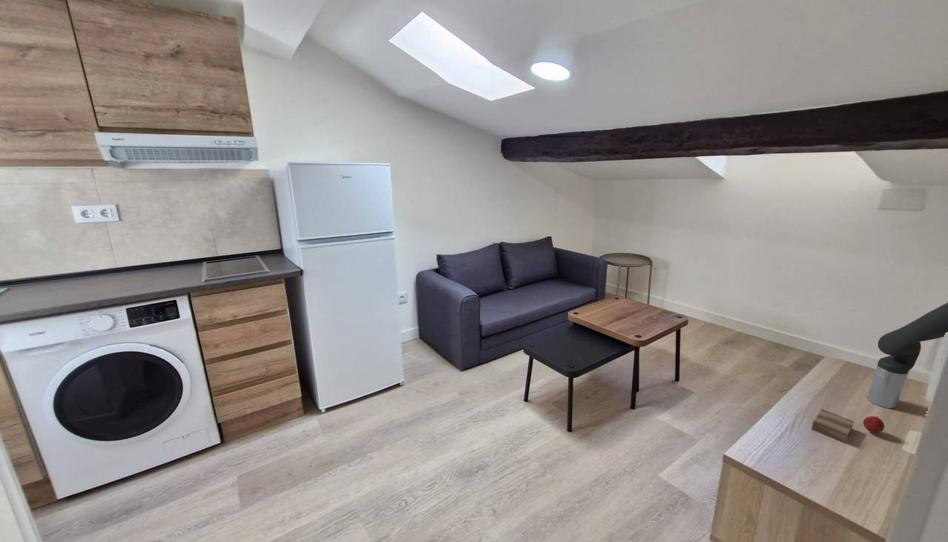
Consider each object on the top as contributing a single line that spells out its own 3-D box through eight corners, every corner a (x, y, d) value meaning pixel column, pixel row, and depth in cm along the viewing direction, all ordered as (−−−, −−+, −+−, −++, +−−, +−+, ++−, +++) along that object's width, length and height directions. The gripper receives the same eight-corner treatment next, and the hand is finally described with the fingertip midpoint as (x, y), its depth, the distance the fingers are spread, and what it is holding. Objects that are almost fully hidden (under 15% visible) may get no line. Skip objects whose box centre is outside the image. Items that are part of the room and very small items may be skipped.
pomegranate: (885, 438, 147) (891, 421, 145) (868, 436, 148) (874, 419, 146) (873, 427, 152) (879, 411, 150) (857, 426, 154) (862, 410, 151)
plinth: (819, 416, 160) (821, 409, 158) (851, 429, 152) (854, 421, 151) (811, 429, 153) (813, 421, 152) (844, 443, 145) (847, 434, 144)
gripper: (982, 386, 130) (921, 398, 142) (980, 402, 122) (916, 414, 134) (1002, 406, 127) (938, 417, 139) (1001, 424, 119) (934, 434, 131)
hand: (927, 415), depth 137 cm, fingers open, 8 cm apart
